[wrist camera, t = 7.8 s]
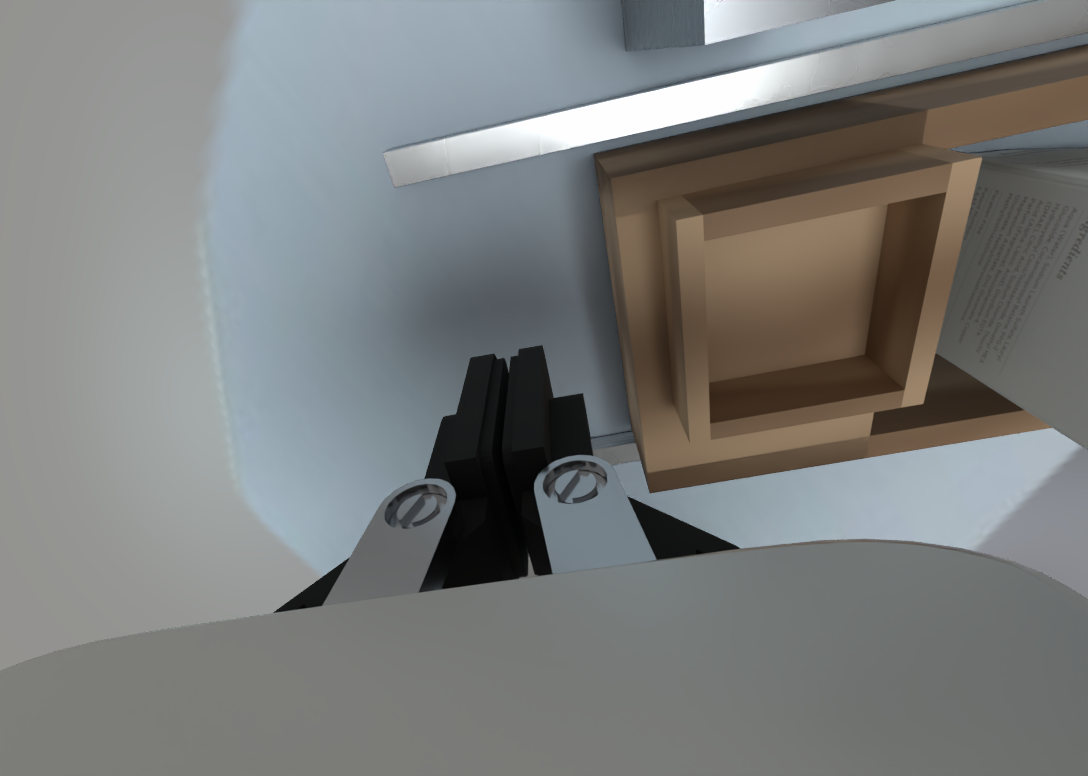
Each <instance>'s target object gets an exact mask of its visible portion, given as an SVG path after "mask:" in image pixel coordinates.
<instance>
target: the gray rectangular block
mask: <svg viewBox="0 0 1088 776" xmlns="http://www.w3.org/2000/svg"><path fill="white" fill-rule="evenodd" d="M890 1H894V0H621V4H622V15H623V25H624V36H625V46H626V51H633V50H646V49H659V48H672V47H685V46H697V45H707V44H711V43H715V42H720V41H724V40H728V39H732V38H737V37H741V36H745V35H749V34H754V33H758V32H762V31H766V30H771V29H775V28H779V27H784V26H788V25H792V24H796V23H801V22H805V21H809V20H813V19H818V18H822V17H826V16H830V15H835V14H839V13H843V12H847V11H852V10H856V9H860V8H865V7H869V6H873V5H877V4H882V3H886V2H890Z"/></svg>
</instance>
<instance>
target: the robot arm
mask: <svg viewBox="0 0 1088 776" xmlns="http://www.w3.org/2000/svg"><path fill="white" fill-rule="evenodd" d="M0 776H1088V599H1087V598H1086V597H1084V596H1082V595H1081V594H1079V593H1077V592H1076V591H1074V590H1072V589H1071V588H1069V587H1068V586H1066V585H1064V584H1062V583H1060V582H1059V581H1057V580H1055V579H1053V578H1051V577H1049V576H1047V575H1045V574H1044V573H1042V572H1039V571H1037V570H1035V569H1032V568H1029V567H1027V566H1024V565H1022V564H1019V563H1017V562H1014V561H1011V560H1007V559H1004V558H1000V557H996V556H993V555H989V554H985V553H980V552H976V551H972V550H967V549H963V548H957V547H950V546H943V545H936V544H929V543H922V542H915V541H900V540H879V539H846V540H820V541H811V542H801V543H791V544H782V545H772V546H762V547H753V548H743V549H740V548H739V547H737V546H735V545H733V544H731V543H729V542H727V541H724V540H722V539H720V538H718V537H716V536H713V535H711V534H709V533H707V532H705V531H702V530H700V529H698V528H696V527H694V526H692V525H689V524H687V523H685V522H683V521H681V520H678V519H676V518H674V517H672V516H670V515H667V514H665V513H663V512H661V511H659V510H656V509H654V508H652V507H650V506H648V505H645V504H643V503H641V502H639V501H637V500H634V499H632V498H630V497H628V496H627V495H626V493H625V491H624V489H623V487H622V484H621V482H620V480H619V478H618V476H617V474H616V471H615V470H614V469H613V467H612V466H611V465H610V463H608V462H606V461H605V460H603V459H601V458H598V457H594V456H593V450H592V444H591V438H590V432H589V426H588V420H587V414H586V408H585V402H584V397H583V393H582V394H576V395H570V396H564V397H558V398H553V393H552V388H551V383H550V378H549V374H548V369H547V364H546V359H545V354H544V350H543V346H542V345H541V346H535V347H529V348H524V349H519V353H518V356H514V357H511V360H510V370H509V372H508V368H507V364H506V361H505V359H504V358H502V359H497V358H496V356H495V354H489V355H484V356H478V357H472V358H471V359H470V362H469V366H468V370H467V374H466V378H465V382H464V386H463V390H462V394H461V398H460V402H459V405H458V409H457V413H456V415H450V416H445V417H443V419H442V421H441V424H440V428H439V431H438V435H437V438H436V442H435V445H434V448H433V452H432V455H431V459H430V462H429V465H428V469H427V472H426V476H425V479H422V480H417V481H414V482H411V483H409V484H406V485H404V486H402V487H400V488H399V489H397V490H395V491H394V492H393V493H391V494H390V495H389V496H388V497H387V498H386V499H385V500H384V501H383V502H382V504H381V505H380V506H379V508H378V510H377V511H376V513H375V515H374V517H373V518H372V520H371V522H370V523H369V525H368V527H367V529H366V530H365V532H364V534H363V536H362V537H361V539H360V541H359V543H358V544H357V546H356V548H355V550H354V551H353V553H352V555H351V557H350V558H348V559H347V560H345V561H344V562H343V563H341V564H340V565H338V566H337V567H336V568H334V569H333V570H332V571H330V572H329V573H327V574H326V575H325V576H323V577H322V578H320V579H319V580H318V581H316V582H315V583H314V584H312V585H311V586H309V587H308V588H307V589H305V590H304V591H303V592H301V593H300V594H298V595H297V596H295V597H294V598H293V599H291V600H290V601H289V602H287V603H286V604H284V605H283V606H282V607H280V608H279V609H277V610H276V611H275V612H274V613H271V614H264V615H257V616H250V617H244V618H237V619H230V620H223V621H216V622H209V623H202V624H195V625H188V626H181V627H174V628H167V629H161V630H156V631H150V632H145V633H139V634H133V635H128V636H123V637H116V638H111V639H106V640H100V641H95V642H90V643H87V644H83V645H78V646H75V647H70V648H66V649H62V650H58V651H54V652H52V653H49V654H45V655H43V656H39V657H36V658H33V659H30V660H27V661H25V662H22V663H19V664H16V665H13V666H11V667H9V668H6V669H4V670H1V671H0Z"/></svg>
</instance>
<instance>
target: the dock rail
mask: <svg viewBox="0 0 1088 776" xmlns="http://www.w3.org/2000/svg"><path fill="white" fill-rule="evenodd" d="M1083 33H1088V0H1035V1H1031V2H1027V3H1022V4H1018V5H1014V6H1009V7H1005V8H1000V9H996V10H992V11H987V12H983V13H979V14H974V15H970V16H966V17H961V18H957V19H953V20H948V21H944V22H940V23H935V24H931V25H927V26H922V27H918V28H914V29H909V30H905V31H901V32H896V33H892V34H888V35H883V36H879V37H875V38H870V39H866V40H862V41H857V42H853V43H849V44H844V45H840V46H835V47H831V48H827V49H822V50H818V51H814V52H809V53H805V54H801V55H796V56H792V57H788V58H783V59H779V60H775V61H770V62H766V63H762V64H757V65H753V66H749V67H744V68H740V69H736V70H731V71H727V72H723V73H718V74H714V75H710V76H705V77H701V78H697V79H692V80H688V81H683V82H679V83H675V84H670V85H666V86H662V87H657V88H653V89H649V90H644V91H640V92H636V93H631V94H627V95H623V96H618V97H614V98H610V99H605V100H601V101H597V102H592V103H588V104H584V105H579V106H575V107H571V108H566V109H562V110H558V111H553V112H549V113H545V114H540V115H536V116H532V117H527V118H523V119H518V120H514V121H510V122H505V123H501V124H497V125H492V126H488V127H484V128H479V129H475V130H471V131H466V132H462V133H458V134H453V135H449V136H445V137H440V138H436V139H432V140H427V141H423V142H419V143H414V144H410V145H406V146H401V147H397V148H393V149H389V150H387V151H385V152H384V153H383V156H384V159H385V162H386V165H387V167H388V170H389V173H390V176H391V179H392V182H393V185H394V187H399V186H403V185H408V184H412V183H417V182H421V181H425V180H430V179H434V178H439V177H443V176H448V175H452V174H457V173H461V172H466V171H470V170H475V169H479V168H484V167H488V166H493V165H497V164H502V163H506V162H511V161H515V160H519V159H524V158H528V157H533V156H537V155H542V154H546V153H551V152H555V151H560V150H564V149H569V148H573V147H578V146H582V145H587V144H591V143H596V142H600V141H604V140H609V139H613V138H618V137H622V136H627V135H631V134H636V133H640V132H645V131H649V130H654V129H658V128H663V127H667V126H672V125H676V124H681V123H685V122H690V121H694V120H698V119H703V118H707V117H712V116H716V115H721V114H725V113H730V112H734V111H739V110H743V109H748V108H752V107H757V106H761V105H766V104H770V103H775V102H779V101H783V100H788V99H792V98H797V97H801V96H806V95H810V94H815V93H819V92H824V91H828V90H833V89H837V88H842V87H846V86H851V85H855V84H860V83H864V82H869V81H873V80H877V79H882V78H886V77H891V76H895V75H900V74H904V73H909V72H913V71H918V70H922V69H927V68H931V67H936V66H940V65H945V64H949V63H954V62H958V61H962V60H967V59H971V58H976V57H980V56H985V55H989V54H994V53H998V52H1003V51H1007V50H1012V49H1016V48H1021V47H1025V46H1030V45H1034V44H1039V43H1043V42H1048V41H1052V40H1056V39H1061V38H1065V37H1070V36H1074V35H1079V34H1083ZM591 444H592V450H593V456H594V457H598V458H601V459H603V460H605V461H606V462H608V463H610V465H615V464H621V463H627V462H633V461H638V460H640V456H639V453H638V449H637V446H636V442H635V438H634V435H633V431H632V432H626V433H620V434H614V435H609V436H603V437H597V438H591Z"/></svg>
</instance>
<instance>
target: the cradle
mask: <svg viewBox="0 0 1088 776" xmlns="http://www.w3.org/2000/svg"><path fill="white" fill-rule="evenodd" d="M1083 120H1088V44H1087V45H1083V46H1078V47H1074V48H1069V49H1065V50H1060V51H1056V52H1051V53H1047V54H1042V55H1038V56H1033V57H1029V58H1024V59H1020V60H1015V61H1011V62H1006V63H1002V64H997V65H993V66H988V67H984V68H979V69H975V70H970V71H966V72H961V73H957V74H952V75H948V76H943V77H938V78H934V79H929V80H925V81H920V82H916V83H911V84H907V85H902V86H898V87H893V88H889V89H884V90H880V91H875V92H871V93H866V94H862V95H857V96H853V97H848V98H844V99H839V100H835V101H830V102H826V103H821V104H817V105H812V106H808V107H803V108H799V109H794V110H790V111H785V112H781V113H776V114H772V115H767V116H763V117H758V118H753V119H749V120H744V121H740V122H735V123H731V124H726V125H722V126H717V127H713V128H708V129H704V130H699V131H695V132H690V133H686V134H681V135H677V136H672V137H668V138H663V139H659V140H654V141H650V142H645V143H641V144H636V145H632V146H627V147H623V148H618V149H614V150H609V151H605V152H600V153H596V154H594V159H595V167H596V174H597V181H598V189H599V196H600V203H601V210H602V218H603V225H604V232H605V239H606V247H607V254H608V261H609V268H610V276H611V283H612V290H613V298H614V305H615V312H616V319H617V327H618V334H619V341H620V348H621V356H622V363H623V370H624V378H625V385H626V392H627V399H628V407H629V414H630V421H631V428H632V431H633V435H634V438H635V442H636V446H637V449H638V453H639V456H640V460H641V463H642V467H643V471H644V474H645V478H646V481H647V485H648V489H649V492H650V493H655V492H661V491H667V490H673V489H679V488H685V487H692V486H698V485H704V484H710V483H716V482H722V481H728V480H734V479H741V478H747V477H753V476H759V475H765V474H771V473H777V472H783V471H790V470H796V469H802V468H808V467H814V466H820V465H826V464H832V463H839V462H845V461H851V460H857V459H863V458H869V457H875V456H881V455H888V454H894V453H900V452H906V451H912V450H918V449H924V448H930V447H937V446H943V445H949V444H955V443H961V442H967V441H973V440H979V439H986V438H992V437H998V436H1004V435H1010V434H1016V433H1022V432H1028V431H1035V430H1041V429H1047V428H1052V427H1051V426H1049V425H1047V424H1046V423H1044V422H1043V421H1041V420H1040V419H1038V418H1036V417H1035V416H1033V415H1032V414H1030V413H1029V412H1027V411H1025V410H1024V409H1022V408H1021V407H1019V406H1017V405H1016V404H1014V403H1013V402H1011V401H1010V400H1008V399H1007V398H1005V397H1004V396H1002V395H1000V394H999V393H997V392H996V391H994V390H993V389H991V388H990V387H988V386H987V385H985V384H983V383H982V382H980V381H979V380H977V379H976V378H974V377H973V376H971V375H970V374H968V373H967V372H965V371H963V370H962V369H960V368H959V367H957V366H956V365H954V364H953V363H951V362H949V361H948V360H946V359H945V358H943V357H941V356H940V355H938V354H935V353H936V349H937V345H938V341H939V336H940V332H941V328H942V324H943V320H944V316H945V311H946V307H947V303H948V299H949V295H950V290H951V286H952V282H953V278H954V274H955V270H956V265H957V261H958V257H959V253H960V249H961V244H962V240H963V236H964V232H965V228H966V224H967V219H968V215H969V211H970V207H971V203H972V199H973V194H974V190H975V186H976V182H977V178H978V173H979V169H980V165H981V161H982V157H980V156H976V155H971V154H966V153H962V152H957V151H953V150H948V149H950V148H954V147H959V146H964V145H969V144H974V143H978V142H983V141H988V140H993V139H997V138H1002V137H1007V136H1012V135H1016V134H1021V133H1026V132H1031V131H1035V130H1040V129H1045V128H1050V127H1054V126H1059V125H1064V124H1069V123H1074V122H1078V121H1083Z"/></svg>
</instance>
